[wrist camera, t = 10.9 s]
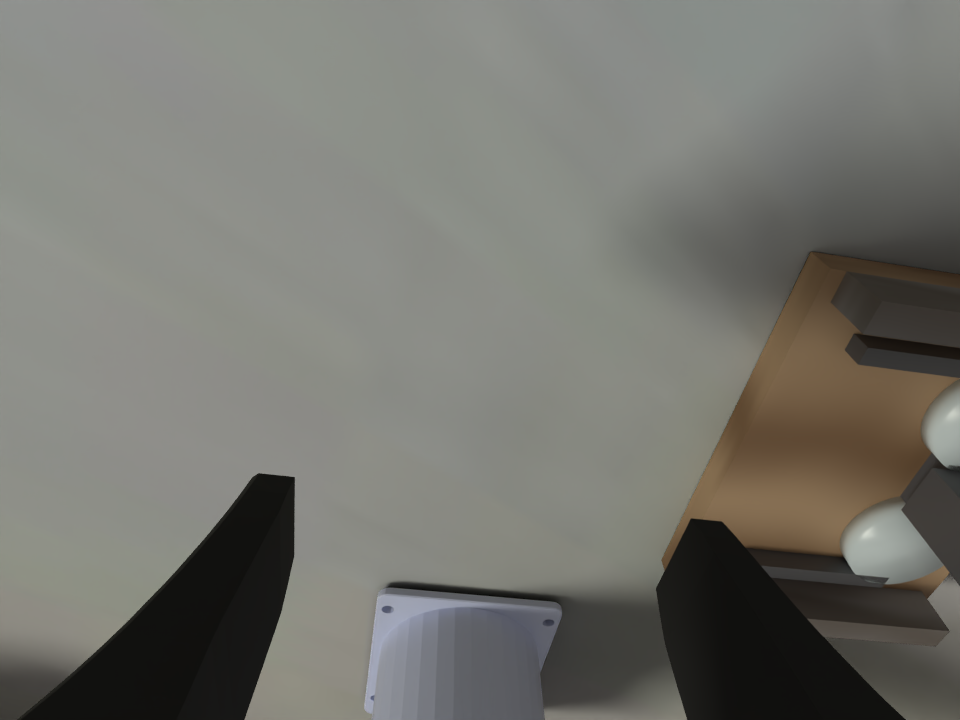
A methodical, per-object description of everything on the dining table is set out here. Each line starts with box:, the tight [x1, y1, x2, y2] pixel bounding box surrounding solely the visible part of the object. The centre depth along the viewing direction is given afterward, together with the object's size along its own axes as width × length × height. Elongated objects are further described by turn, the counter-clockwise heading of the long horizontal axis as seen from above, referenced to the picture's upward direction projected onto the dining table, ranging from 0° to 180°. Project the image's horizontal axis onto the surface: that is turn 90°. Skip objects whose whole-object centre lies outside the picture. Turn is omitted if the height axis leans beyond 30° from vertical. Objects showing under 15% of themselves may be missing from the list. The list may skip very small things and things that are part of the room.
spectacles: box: [746, 334, 960, 588], centre depth 20 cm, size 10×8×5 cm
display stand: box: [662, 252, 960, 646], centre depth 22 cm, size 14×11×3 cm
